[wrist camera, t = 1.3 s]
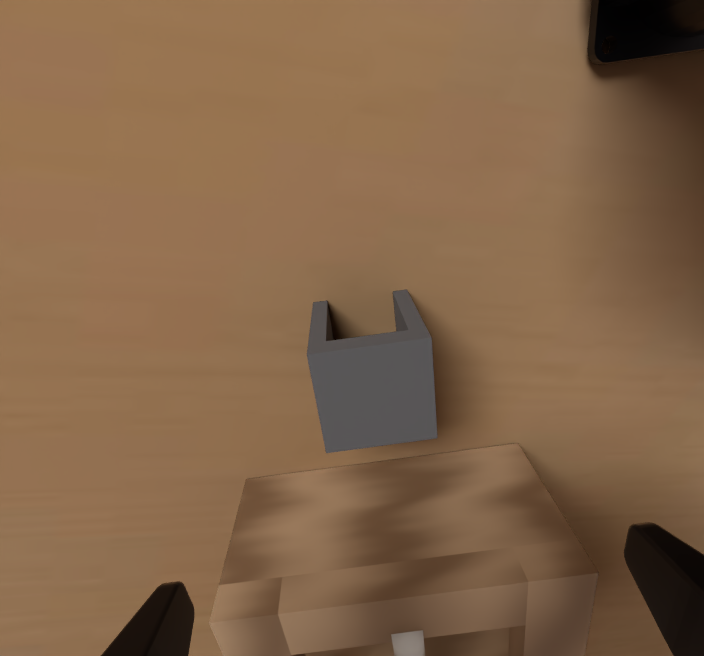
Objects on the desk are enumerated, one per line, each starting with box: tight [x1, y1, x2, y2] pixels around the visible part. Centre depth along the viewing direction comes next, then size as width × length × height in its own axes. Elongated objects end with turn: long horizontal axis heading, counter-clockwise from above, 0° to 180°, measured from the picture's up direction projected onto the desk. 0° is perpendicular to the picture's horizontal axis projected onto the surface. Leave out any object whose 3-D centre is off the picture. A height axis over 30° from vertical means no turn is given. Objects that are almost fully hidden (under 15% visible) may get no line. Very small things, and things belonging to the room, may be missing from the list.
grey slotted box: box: [307, 290, 437, 453], centre depth 16 cm, size 4×4×5 cm
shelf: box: [209, 443, 599, 656], centre depth 21 cm, size 14×15×8 cm
